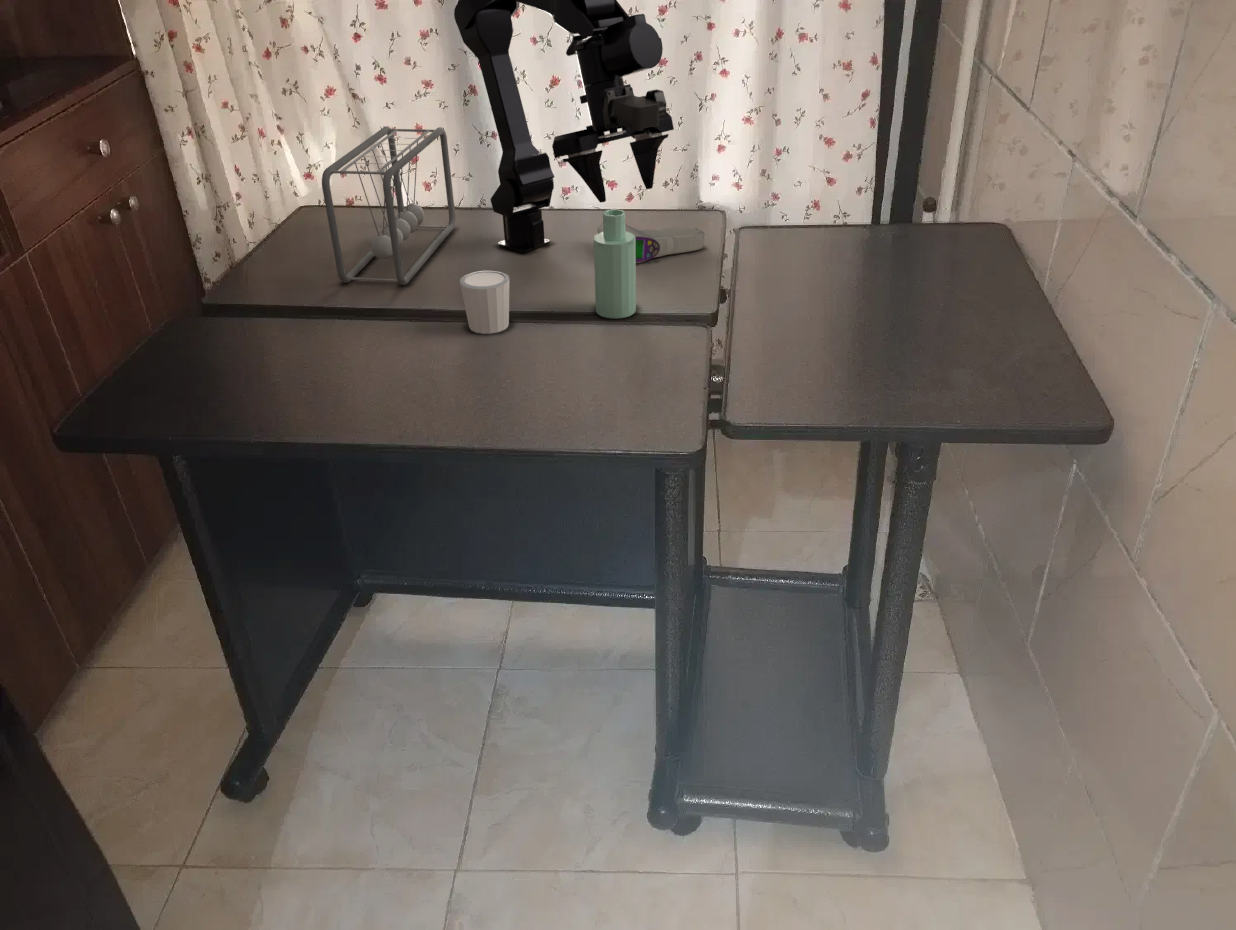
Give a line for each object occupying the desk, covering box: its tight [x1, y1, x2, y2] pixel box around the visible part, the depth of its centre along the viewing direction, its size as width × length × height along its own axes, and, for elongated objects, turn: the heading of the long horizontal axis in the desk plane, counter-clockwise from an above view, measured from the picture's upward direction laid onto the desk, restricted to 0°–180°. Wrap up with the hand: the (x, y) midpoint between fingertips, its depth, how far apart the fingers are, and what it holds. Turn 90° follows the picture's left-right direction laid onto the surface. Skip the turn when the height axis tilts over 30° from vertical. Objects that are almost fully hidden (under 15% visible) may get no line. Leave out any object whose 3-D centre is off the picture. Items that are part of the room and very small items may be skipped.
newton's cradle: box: [321, 125, 456, 286], centre depth 156 cm, size 30×10×18 cm, turn 172°
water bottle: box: [593, 208, 637, 319], centre depth 136 cm, size 6×6×14 cm
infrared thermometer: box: [597, 221, 705, 264], centre depth 161 cm, size 5×12×15 cm
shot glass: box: [459, 270, 511, 335], centre depth 134 cm, size 7×7×7 cm
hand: (626, 195), depth 139 cm, fingers open, 9 cm apart
